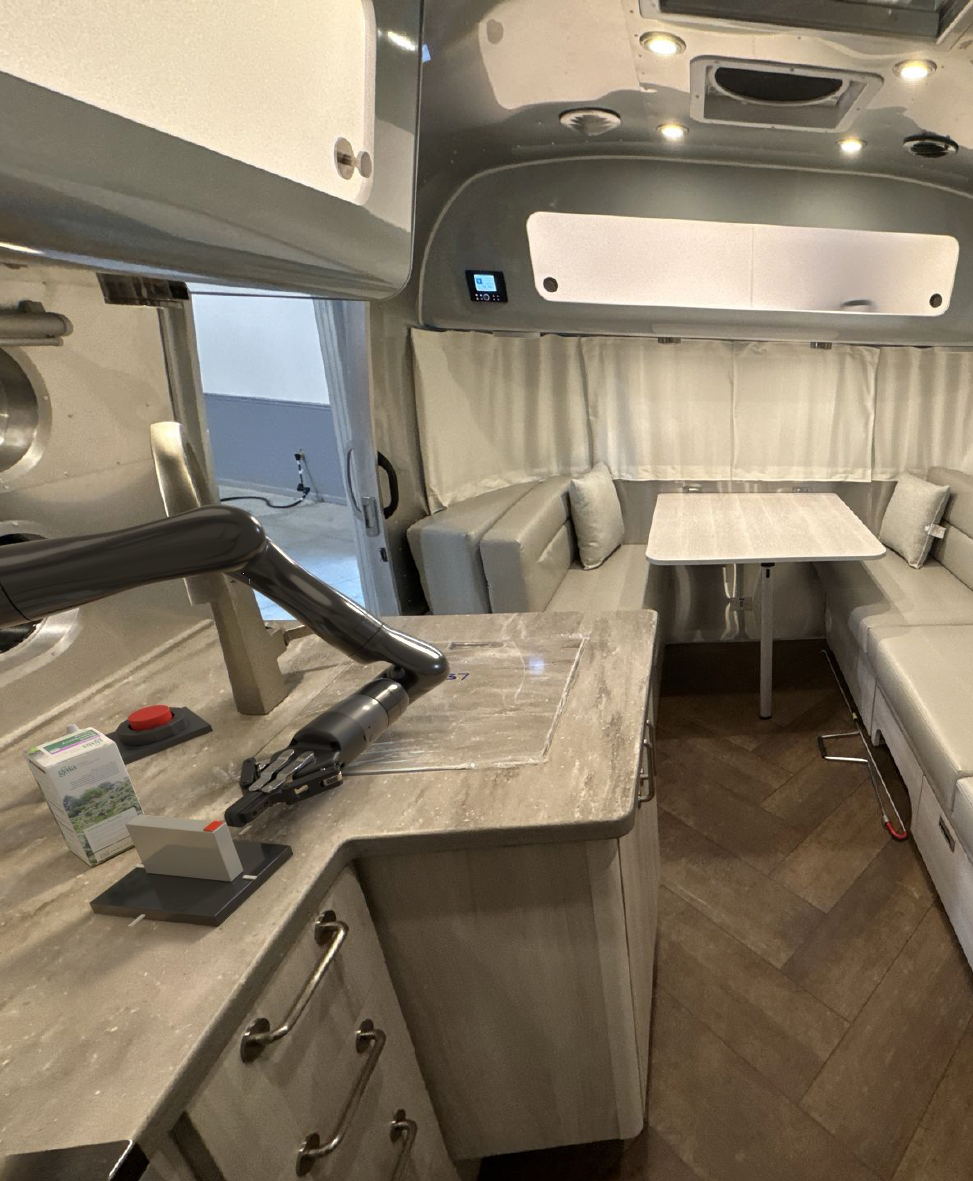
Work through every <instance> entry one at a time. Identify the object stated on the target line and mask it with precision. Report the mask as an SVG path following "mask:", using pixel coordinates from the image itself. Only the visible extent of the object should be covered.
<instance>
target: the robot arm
mask: <svg viewBox="0 0 973 1181" xmlns="http://www.w3.org/2000/svg"><path fill="white" fill-rule="evenodd" d="M243 573H244V574H243ZM211 574H222V575H225V576H226V577H229V578H230V579H233V580H235V581H237V582H239V583H240V584H243V585H245V586H247V587H249V588H251V589H253V590H254V591H256V592H258V593H259V594H261V595H263V596H264V597H265V598H266V599H269V600H270V601H271V602H273V603H274V604H276V605H277V606H279V607H280V608H281V609H282V610H284V611H285V612H286V613H288V614H289V615H290V616H291V617H293V618H294V619H296V620H297V621H298V622H299V623H300V624H302V625H303V626H304V627H305V628H307V630H309V631H310V632H311V633H313V634H314V635H315V636H317V637H318V638H319V639H321V640H322V641H324V642H325V643H327V644H328V645H329V646H330V647H332V648H334V649H335V650H337V651H339V652H340V653H341V654H343V655H345V657H347V658H349V659H350V660H352V661H354V662H355V663H356V664H359V665H362V666H368V665H372V664H374V663H375V664H376V663H380V662H385V663H388V664H390V665H389V666H387V667H386V668H384V670H382V671H381V672H380V673H378V674H377V675H376V676H375V677H374V678H372V680H370V681H368V682H367V683H365V684H364V685H362V686H361V687H359V688H358V689H356V690H355V691H353V692H352V693H351V694H349V695H348V696H347V697H345V698H344V699H341V700H339V701H338V702H336V703H335V704H333V705H332V706H330V707H328V708H327V709H326V710H325V711H323V712H322V713H321V714H319V715H318V716H316V717H315V718H314V719H312V720H311V721H309V722H308V723H307V724H305V725H304V726H303V727H301V728H300V729H299V730H297V731H296V732H295V733H294V734H293V736H292V738H291V740H290V742H289V744H288V746H286V747H285V748H283V749H280V750H278V751H276V752H275V753H273V754H272V755H271V756H270V758H267V759H262V760H259V761H257V760H256V758H255V757H254V756H253V757H248V758H245V759H244V760H243V761H242V766H241V770H240V776H239V783H238V785H239V788H240V791H241V794H242V796H241V797H240V798H239V799H237V800H235V802H234V803H232V804H231V805H229V806H228V807H226V809H225V810H224V813H223V818H224V820H225V823H226V824H227V827H228V828H229V827H230V828H241V829H242V828H245V826H247V825H248V824H251V823H252V822H253V821H255V820H256V819H258V817H260V816H261V815H262V814H264V813H265V812H266V811H267V810H268V809H271V808H274V807H275V808H276V807H278V805H280V804H281V803H285V805H286V806H292V805H295V804H298V803H300V802H303V801H305V800H308V799H310V798H312V797H316V796H318V795H320V794H323V793H326V792H328V791H330V790H331V791H332V790H333V789H335V788H338V787H340V786H342V785H343V784H344V780H343V775H342V771H343V770H344V769H346V768H347V767H348V766H349V765H350V764H351V763H352V762H353V761H354V760H356V759H357V758H358V757H359V756H360V755H362V754H363V753H364V752H365V751H366V750H367V749H368V748H369V747H370V746H372V745H373V744H374V743H375V742H376V741H377V740H378V739H379V738H380V736H381V735H382V734H384V732H386V730H388V728H390V727H391V726H392V725H393V724H394V723H395V722H396V721H398V719H400V718H401V717H402V716H403V715H404V713H405V712H406V711H407V709H408V708H409V706H411V705H412V704H413V703H415V702H417V700H419V699H420V698H422V697H424V696H425V695H427V694H428V693H429V692H431V691H433V690H434V689H436V688H437V687H439V686H440V685H441V684H443V683H444V682H445V681H447V679H449V676H450V674H451V663H450V661H449V658H448V657H447V655H446V654H445V653H444V652H443V651H442V650H441V649H440V648H438V647H437V646H435V645H433V644H432V643H430V642H428V641H426V640H423V639H421V638H418V637H415V636H413V635H411V634H409V633H406V632H404V631H401V630H399V629H396V628H393V627H391V626H390V625H388V624H387V623H385V622H384V621H383V620H382V619H380V618H379V617H377V616H376V615H375V614H373V613H372V612H371V611H370V610H368V609H367V608H365V607H363V605H361V604H360V603H359V602H357V601H355V600H354V599H352V598H351V597H349V596H348V595H346V594H344V592H341V591H340V590H338V589H336V588H334V587H333V586H331V585H329V583H326V582H325V581H324V580H322V579H320V578H319V577H317V576H316V575H314V574H313V573H311V572H310V571H309V570H307V569H306V568H305V567H303V566H302V565H301V564H300V563H298V562H297V561H296V560H294V559H293V558H292V557H291V556H290V555H289V554H287V553H286V552H285V551H284V550H283V549H282V548H281V547H280V546H279V545H278V544H277V543H276V542H275V541H274V540H273V539H272V538H271V537H270V536H269V535H268V534H267V533H266V529H265V528H264V526H263V524H262V522H260V520H259V519H258V518H257V517H256V516H254V515H253V514H252V513H251V512H249V511H247V510H245V509H243V508H241V507H238V506H235V505H231V504H225V503H212V504H204V505H201V506H198V507H195V508H191V509H189V510H186V511H183V512H178V513H176V514H173V515H169V516H166V517H162V518H159V519H156V520H152V521H148V522H144V523H140V524H137V525H133V526H129V527H124V528H121V529H115V530H109V531H104V532H96V533H87V534H77V535H68V536H60V537H51V538H45V539H44V538H43V539H37V540H30V541H23V542H16V543H10V544H4V545H0V630H2V629H7V628H11V627H15V626H19V625H22V624H23V625H24V624H26V623H27V624H28V623H31V622H33V621H39V620H42V619H47V618H49V617H53V616H57V615H60V614H63V613H66V612H70V611H73V610H76V609H79V608H82V607H86V606H88V605H92V604H94V603H97V602H99V601H102V600H105V599H108V598H111V597H113V596H115V595H118V594H121V593H124V592H128V591H130V590H134V589H137V588H141V587H144V586H150V585H153V584H158V583H163V582H168V581H174V580H181V579H186V578H192V577H199V576H204V575H205V576H207V575H211ZM249 579H250V584H249Z"/></svg>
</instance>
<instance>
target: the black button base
mask: <svg viewBox="0 0 973 1181" xmlns="http://www.w3.org/2000/svg"><path fill="white" fill-rule="evenodd" d="M168 707H169V709H170V712H171V714H172V720H170V721H169V722H167V723H165V724H163V725H160V726H158V727H155V728H152V729H146V730H141V731H137V730H133V729H132V728H131V726H130V723H129V721H128V718H126V719H125V720H124V721H122V722H120V723H119V724H118V726H117V728H116V729H115V731H111V732H109V733H106V734H104V735H105V736H106V737H108V738H109V739H111V740H112V741H114V742H115V743H116V745H117V747H118V750H119V752H120V755H121V757H122V760H123V762H124V765H125V766H126V765H129V764H132V763H134V762H137V761H139V760H142V759H145V758H147V757H150V756H153V755H155V754H158V753H161V752H162V751H165V750H168V749H171V748H173V747H175V746H179V745H180V744H183V743H186V742H189V741H190V740H193V739H196V738H199V737H201V736H204V735H206V734H209V733H211V732H213V731H214V730H213V727H212V724H210V723H209V722H208V721H206V720H205V719H203V718H202V717H201V716H199V715H198V714H197V713H195V712H194V711H192V710H191V709H190V708H188V707H187V706H182V707H178V706H177V707H175V706H168Z"/></svg>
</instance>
